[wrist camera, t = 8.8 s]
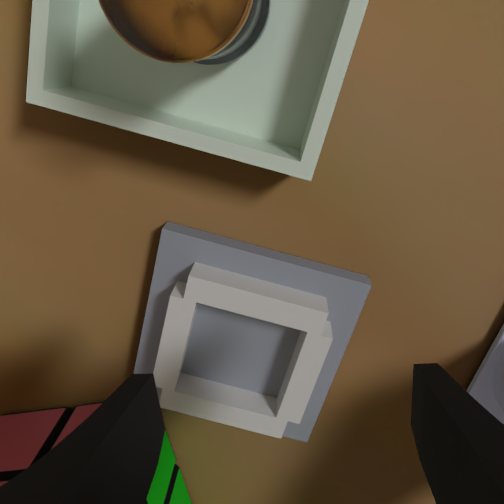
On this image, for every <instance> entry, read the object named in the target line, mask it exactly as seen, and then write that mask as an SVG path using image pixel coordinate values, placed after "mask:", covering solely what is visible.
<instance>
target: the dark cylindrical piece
mask: <svg viewBox="0 0 504 504" xmlns="http://www.w3.org/2000/svg"><path fill="white" fill-rule="evenodd" d="M99 3H100V6H101V8H102V10H103V12H104V14H105V16H106V18H107V20H108V21H109V23H110V24H111V26H112V27H113V29H114V30H115V31H116V32H117V34H118V35H119V36H120V37H121V38H122V39H123V40H124V41H125V42H126V43H127V44H129V45H130V46H131V47H133V48H134V49H135V50H137V51H138V52H140V53H142V54H144V55H146V56H148V57H150V58H153V59H156V60H159V61H163V62H171V63H186V62H195V63H198V64H205V65H215V64H222V63H228V62H231V61H234V60H236V59H238V58H240V57H242V56H243V55H245V54H246V53H248V52H249V51H250V50H251V49H252V48H253V47H254V46H255V45H256V43H257V42H258V41H259V39H260V38H261V36H262V34H263V32H264V30H265V28H266V25H267V22H268V19H269V14H270V6H271V0H99Z"/></svg>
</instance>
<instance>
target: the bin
mask: <svg viewBox="0 0 504 504" xmlns="http://www.w3.org/2000/svg"><path fill="white" fill-rule="evenodd" d="M368 1H369V0H271V6H270V14H269V19H268V22H267V25H266V28H265V30H264V32H263V34H262V36H261V38H260V39H259V41H258V42H257V43H256V45H255V46H254V47H253V48H252V49H251V50H250V51H249V52H248V53H246V54H245V55H243V56H242V57H240V58H238V59H236V60H234V61H231V62H228V63H222V64H215V65H205V64H198V63H195V62H186V63H171V62H163V61H159V60H156V59H153V58H150V57H148V56H146V55H144V54H142V53H140V52H138V51H137V50H135V49H134V48H133V47H131V46H130V45H129V44H127V43H126V42H125V41H124V40H123V39H122V38H121V37H120V36H119V35H118V34H117V32H116V31H115V30H114V29H113V27H112V26H111V24H110V23H109V21H108V20H107V18H106V16H105V14H104V12H103V10H102V8H101V6H100V3H99V0H32V15H31V30H30V46H29V61H28V76H27V91H26V102H28V103H31V104H35V105H39V106H42V107H46V108H49V109H53V110H57V111H60V112H64V113H67V114H71V115H75V116H78V117H82V118H85V119H89V120H93V121H96V122H100V123H103V124H107V125H111V126H114V127H118V128H121V129H125V130H129V131H132V132H136V133H139V134H143V135H147V136H150V137H154V138H157V139H161V140H165V141H168V142H172V143H175V144H179V145H183V146H186V147H190V148H193V149H197V150H201V151H204V152H208V153H211V154H215V155H219V156H222V157H226V158H229V159H233V160H237V161H240V162H244V163H247V164H251V165H255V166H258V167H262V168H265V169H269V170H273V171H276V172H280V173H284V174H287V175H291V176H294V177H298V178H302V179H305V180H309V181H311V180H312V176H313V173H314V170H315V167H316V164H317V161H318V158H319V155H320V151H321V148H322V145H323V142H324V139H325V136H326V133H327V130H328V126H329V123H330V120H331V117H332V114H333V111H334V108H335V105H336V101H337V98H338V95H339V92H340V89H341V86H342V83H343V80H344V76H345V73H346V70H347V67H348V64H349V61H350V58H351V55H352V51H353V48H354V45H355V42H356V39H357V36H358V33H359V30H360V26H361V23H362V20H363V17H364V14H365V11H366V8H367V5H368Z"/></svg>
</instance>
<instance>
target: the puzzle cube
mask: <svg viewBox="0 0 504 504" xmlns="http://www.w3.org/2000/svg"><path fill="white" fill-rule="evenodd" d="M101 404H102V403H99V404H91V405H83V406H77V407H76V408H75V410H74V411H73V410H72V409H71V408H59V409H51V410H43V411H35V412H27V413H19V414H11V415H3V416H0V486H2V485H3V484H5V483H6V482H8V481H9V480H11V479H13V478H14V477H15V476H17V475H18V474H20V473H21V472H23V471H24V470H25V469H27V468H28V467H29V466H31V465H32V464H33V463H35V462H36V461H37V460H39V459H40V458H41V457H42V456H44V455H45V454H46V453H48V452H49V451H50V450H51V449H52V448H54V447H55V446H56V445H57V444H58V443H60V442H61V441H62V440H63V439H64V438H65V437H66V436H67V435H69V434H70V433H71V432H72V431H73V430H74V429H75V428H77V427H78V426H79V425H80V424H81V423H82V422H83V421H84V420H86V419H87V418H88V417H89V416H90V415H91V414H92V413H93V412H94V411H95V410H96V409H97V408H98V407H99V406H100V405H101ZM175 461H176V458H175V455H174V452H173V449H172V446H171V444H170V441H169V438H168V435H167V432H166V429H165V432H164V438H163V443H162V448H161V453H160V457H159V462H158V466H157V469H156V472H155V475H154V478H153V481H152V484H151V487H150V490H149V493H148V496H147V499H146V502H145V504H192V502H191V500H190V497H189V494H188V491H187V488H186V485H185V483H184V480H183V477H182V474H181V471H180V468H179V467H178V466H177V465H176V464H175Z"/></svg>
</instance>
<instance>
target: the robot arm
mask: <svg viewBox="0 0 504 504" xmlns="http://www.w3.org/2000/svg"><path fill="white" fill-rule="evenodd" d="M411 426H412V430H413V434H414V438H415V443H416V446H417V450H418V454H419V458H420V461H421V464H422V467H423V469H424V472H425V475H426V477H427V480H428V483H429V485H430V488H431V491H432V493H433V496H434V498H435V501H436V504H504V324H503V326H502V328H501V329H500V331H499V333H498V335H497V337H496V338H495V340H494V342H493V344H492V345H491V347H490V349H489V351H488V353H487V354H486V356H485V358H484V360H483V362H482V363H481V365H480V367H479V369H478V371H477V372H476V374H475V376H474V378H473V379H472V381H471V383H470V385H469V387H468V388H467V390H465V389H464V388H463V387H462V386H460V385H459V384H458V383H457V382H456V381H455V380H454V379H453V378H452V377H451V376H450V375H449V374H448V373H447V372H446V371H445V370H444V369H443V368H442V367H441V366H440V365H439V364H437V363H431V364H414V370H413V392H412V413H411ZM164 432H165V427H164V422H163V417H162V413H161V408H160V403H159V398H158V393H157V389H156V384H155V379H154V374H153V373H148V374H132V375H131V376H130V377H129V378H128V379H127V380H126V381H125V382H124V383H123V384H122V385H121V386H120V387H118V388H117V389H116V390H115V391H114V392H113V393H112V394H111V395H110V396H109V397H108V398H107V399H106V400H105V401H104V402H103V403H102V404H101V405H100V406H99V407H98V408H97V409H96V410H95V411H94V412H93V413H92V414H91V415H90V416H89V417H88V418H87V419H86V420H84V421H83V422H82V423H81V424H80V425H79V426H78V427H77V428H75V429H74V430H73V431H72V432H71V433H70V434H69V435H67V436H66V437H65V438H64V439H63V440H62V441H61V442H60V443H58V444H57V445H56V446H55V447H54V448H52V449H51V450H50V451H49V452H48V453H46V454H45V455H44V456H42V457H41V458H40V459H39V460H37V461H36V462H35V463H33V464H32V465H31V466H29V467H28V468H27V469H25V470H24V471H23V472H21V473H20V474H18V475H17V476H15V477H14V478H13V479H11V480H9V481H8V482H6V483H5V484H3V485H2V486H0V504H145V502H146V499H147V496H148V493H149V490H150V487H151V484H152V481H153V478H154V475H155V472H156V469H157V466H158V462H159V457H160V453H161V448H162V443H163V438H164Z"/></svg>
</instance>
